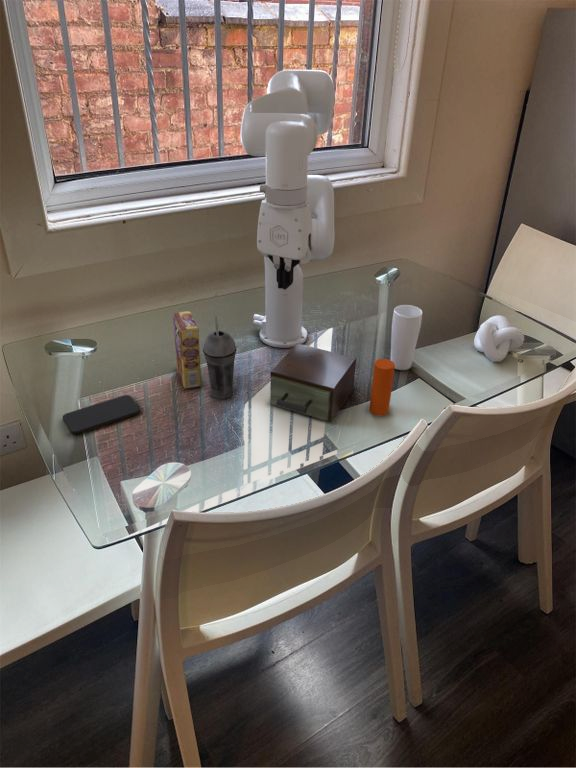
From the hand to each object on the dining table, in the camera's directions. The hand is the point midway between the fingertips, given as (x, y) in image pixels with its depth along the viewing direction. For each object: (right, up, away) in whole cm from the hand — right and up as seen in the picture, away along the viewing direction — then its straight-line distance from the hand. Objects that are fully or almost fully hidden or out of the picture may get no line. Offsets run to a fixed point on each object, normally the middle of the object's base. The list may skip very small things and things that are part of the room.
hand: (284, 286), depth 121 cm
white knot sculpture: (+53, -12, +33) cm, 63 cm away
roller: (+21, -25, +11) cm, 35 cm away
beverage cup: (-14, -22, +16) cm, 31 cm away
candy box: (-23, -18, +21) cm, 36 cm away
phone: (-39, -27, +8) cm, 48 cm away
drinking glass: (+28, -15, +27) cm, 42 cm away
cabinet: (+6, -23, +15) cm, 28 cm away
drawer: (+5, -24, +12) cm, 27 cm away
